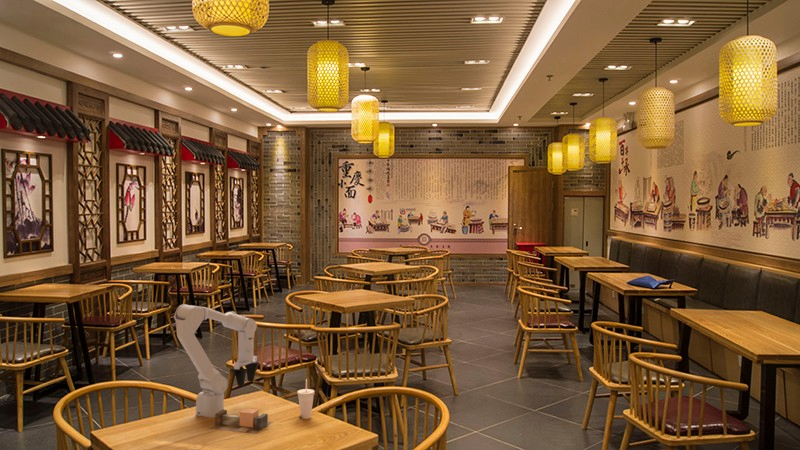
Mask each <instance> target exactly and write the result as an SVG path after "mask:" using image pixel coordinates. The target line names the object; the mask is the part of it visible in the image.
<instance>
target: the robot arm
mask: <svg viewBox="0 0 800 450" xmlns="http://www.w3.org/2000/svg"><path fill="white" fill-rule="evenodd" d="M173 319H174V321H175V328H176V337H177V339H178V340H179V341H180V344H181V345H182V347H183V349H184V350H185V352H186V354H187V355H188V357H189V359H190V361H191V362H192V364H193V365H194V367H195V369H196V370H197V372H198V375H197V378H198V380H199V386H200V388H201V389H202V391H200V392H199V393H198V394H197V396H196V399H195V416H198V417H199V416H200V417H203V418H204V417H206V418H215V414H216V413H218V412H219V411H221V410H225V409H224V405H225V404H224V403H225V400H224V398H225V392H226V391H227V389H228V385H229V381H228V379H227V378H226V377H225V376H223V375H222V374H221V372H220V371H219V370H218V369H216V368H215V367H214V365H213V364H212V362H211V360H210V359H209V357H208V355H207V354H206V352H205V350H204V348H203V347H202V345H201V343H200V341H199V340H198V338H197V336H196V331H197V330H198V328H199V327H200V325H202V322H203V321H206V320H207V319H210V320H214V321H217V322H220V323H221V324H222V326H223V327H225V328H228V329H231V330H234V331H237V332H238V340H237V341H238V342H237V343H238V344H237V345H238V347H237V348H238V351H237V353H238V354H237V356H238V357H237V358H238V360H237V361H236V362H235V363H234V364H233V367H232V368H231V371H232V373H233V374H234V377H235V380H236V382H237V387H242V388H243V387H244V386H245V381H246V379H247V382H254V379H255V377H256V376H255V375H256V371H257V369H258V368H259V366H260V362H259V361H258V355H254V346H255V345H254V344H255V342H254V339H255V332H256V331H257V328H258V324H256V321H255V319H254V318H250V317H246V315H244V314H242V315H239V314H237V312H236V311H233V310H232V311H227V312H225V313H223V312H220V311H217V310H215V309H212V308H209V307H205V306H200V305H199V306H197V305H191V304H190V305H189V304H185V303H183V304H180V305H179V306H178V307H177V308H176V310H175V313H174V316H173ZM244 367H245V368H244ZM245 377H247V378H246V379H245Z"/></svg>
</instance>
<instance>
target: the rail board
mask: <svg viewBox="0 0 800 450" xmlns="http://www.w3.org/2000/svg"><path fill="white" fill-rule="evenodd" d="M214 423H215V424H213V426H211V427H209V428H208V429H209V430H218V431H219V430H220V431H227V432H235V433H237V432H238V433H246V434H248V433H249V434H255V435H256V434H258V433H260V432H261V431H262V430H264V429H266V428H267V427H268V426H269V425H271V424H272V423H273V421H269V420H268V413H262V414H260V415H258V417H255V418H254V427H243V426H240V415H237V414H236V415H235V414H234V415H233V414H228V410H227V409H224V410H221V411H219V412H218V413H216V414H215V417H214Z"/></svg>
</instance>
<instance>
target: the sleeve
mask: <svg viewBox="0 0 800 450" xmlns="http://www.w3.org/2000/svg"><path fill="white" fill-rule="evenodd" d="M239 416H240V426H243V427H254V418H255V417H259V409H253V408H252V409H251V408H243V409H242V410H241V411H240V412H239Z"/></svg>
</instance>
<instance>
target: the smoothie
mask: <svg viewBox="0 0 800 450" xmlns="http://www.w3.org/2000/svg"><path fill="white" fill-rule="evenodd" d="M296 395H297V396H298V402H299V403H298V405H299V413H300V418H301V419H303V420H308V419H311V418H312V410H313V403H314V396H315V390H314V389H311V388H308V379H307V378H306V379H305V388H302V389H299V390H297V394H296Z"/></svg>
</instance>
